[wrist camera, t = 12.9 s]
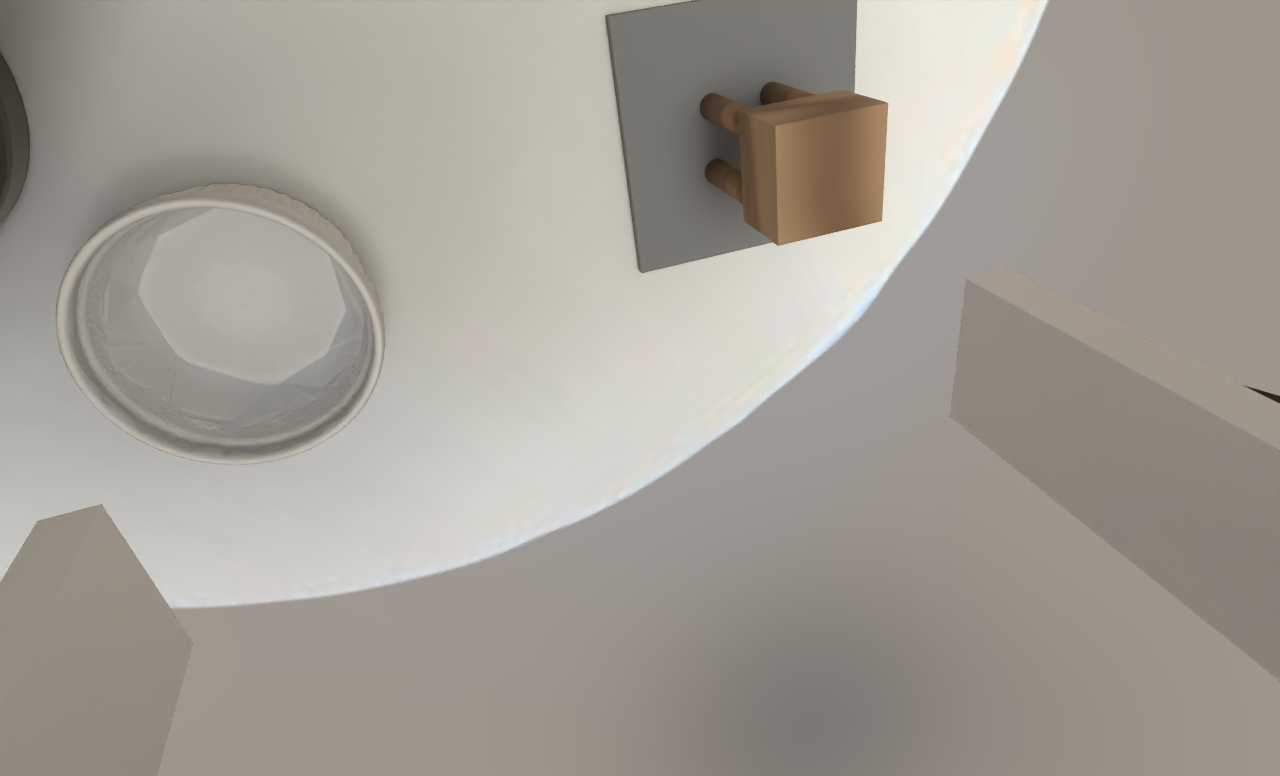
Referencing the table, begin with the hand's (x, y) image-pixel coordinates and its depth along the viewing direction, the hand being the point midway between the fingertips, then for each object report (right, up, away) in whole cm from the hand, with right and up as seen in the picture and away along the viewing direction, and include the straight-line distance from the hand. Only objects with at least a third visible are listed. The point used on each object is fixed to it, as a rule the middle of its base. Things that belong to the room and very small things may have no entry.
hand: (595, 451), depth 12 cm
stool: (+7, +16, +31) cm, 35 cm away
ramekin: (-20, +6, +28) cm, 35 cm away
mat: (+6, +16, +31) cm, 36 cm away
